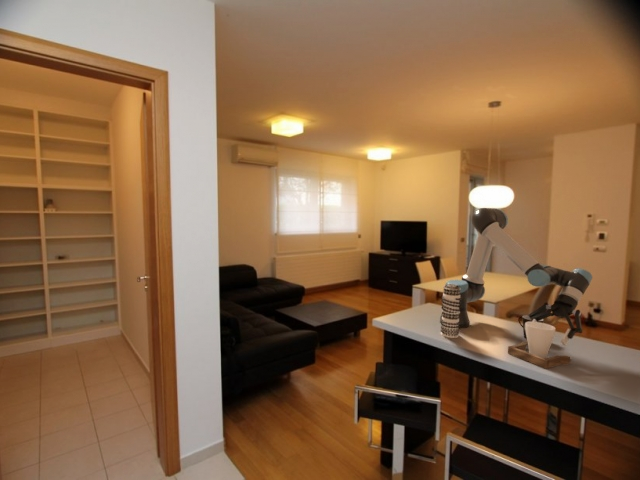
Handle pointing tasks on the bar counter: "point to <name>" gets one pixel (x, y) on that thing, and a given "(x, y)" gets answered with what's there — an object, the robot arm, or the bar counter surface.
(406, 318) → the bar counter surface
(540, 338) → the cup
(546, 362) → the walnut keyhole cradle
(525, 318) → the coffee mug
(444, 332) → the decorative candle
